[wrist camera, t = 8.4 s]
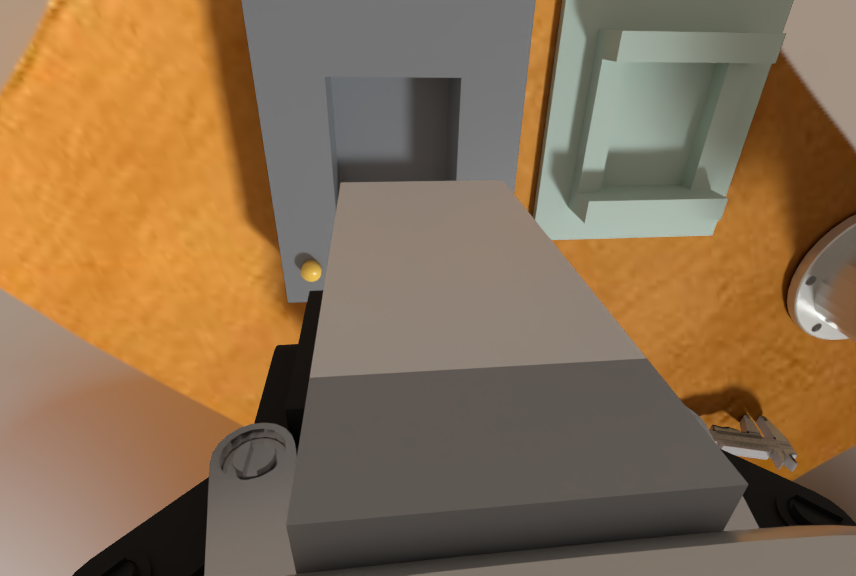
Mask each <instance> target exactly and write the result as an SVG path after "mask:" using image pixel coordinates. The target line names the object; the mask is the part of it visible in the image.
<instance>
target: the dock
mask: <svg viewBox="0 0 856 576" xmlns="http://www.w3.org/2000/svg"><path fill="white" fill-rule="evenodd" d="M535 1H536V0H241V2H242V8H243V15H244V21H245V28H246V34H247V41H248V47H249V54H250V60H251V66H252V73H253V79H254V86H255V92H256V99H257V105H258V112H259V118H260V125H261V131H262V138H263V144H264V151H265V157H266V164H267V170H268V177H269V183H270V189H271V196H272V202H273V209H274V215H275V222H276V228H277V235H278V241H279V248H280V254H281V261H282V267H283V274H284V280H285V287H286V293H287V300H288V303H295V302H307V300H308V296H309V292H310V291H316V290H324V284H325V278H326V271H327V265H328V259H329V253H330V246H331V240H332V234H333V227H334V221H335V215H336V209H337V202H338V196H339V190H340V183H341V182H403V181H470V180H503V181H504V182H505V184H506V185H507V186H508V187H509V189H510V190H511V191H512V192H513V194H514V188H515V179H516V170H517V162H518V153H519V144H520V135H521V126H522V117H523V108H524V99H525V90H526V81H527V72H528V64H529V55H530V46H531V37H532V28H533V19H534V10H535Z"/></svg>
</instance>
